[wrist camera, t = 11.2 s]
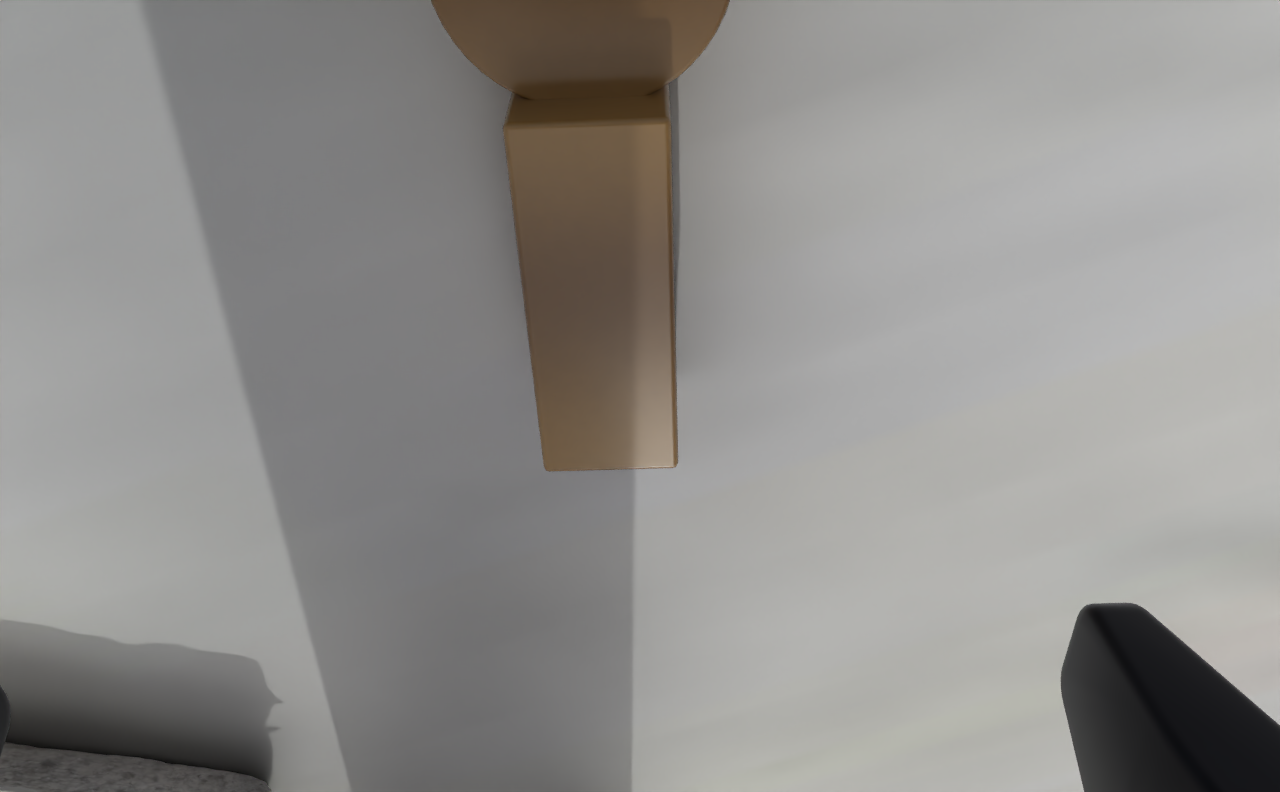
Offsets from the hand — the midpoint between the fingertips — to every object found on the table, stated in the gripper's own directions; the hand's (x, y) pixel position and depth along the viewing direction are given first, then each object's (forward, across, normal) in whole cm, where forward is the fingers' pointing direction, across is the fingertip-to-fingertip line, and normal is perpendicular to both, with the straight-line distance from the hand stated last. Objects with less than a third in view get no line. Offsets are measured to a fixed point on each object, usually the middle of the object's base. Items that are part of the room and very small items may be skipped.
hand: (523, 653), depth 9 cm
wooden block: (+10, 0, 0) cm, 10 cm away
